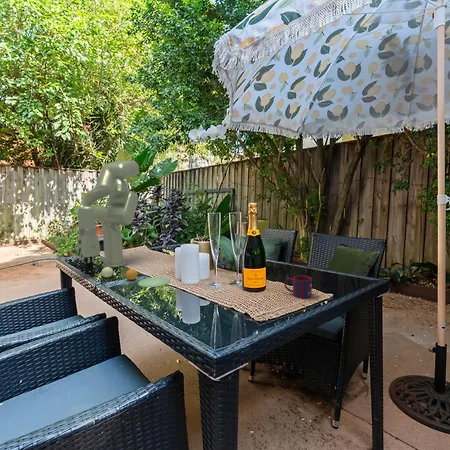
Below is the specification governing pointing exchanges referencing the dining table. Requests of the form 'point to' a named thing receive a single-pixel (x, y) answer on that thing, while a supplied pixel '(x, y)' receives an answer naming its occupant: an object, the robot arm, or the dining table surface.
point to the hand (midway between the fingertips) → (89, 270)
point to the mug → (301, 286)
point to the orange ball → (131, 274)
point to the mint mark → (154, 282)
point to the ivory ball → (107, 272)
